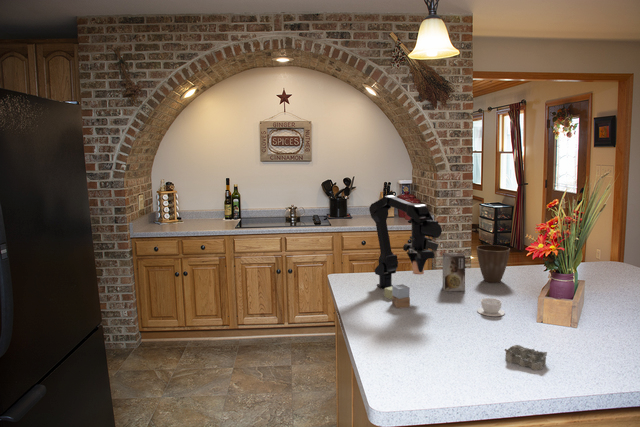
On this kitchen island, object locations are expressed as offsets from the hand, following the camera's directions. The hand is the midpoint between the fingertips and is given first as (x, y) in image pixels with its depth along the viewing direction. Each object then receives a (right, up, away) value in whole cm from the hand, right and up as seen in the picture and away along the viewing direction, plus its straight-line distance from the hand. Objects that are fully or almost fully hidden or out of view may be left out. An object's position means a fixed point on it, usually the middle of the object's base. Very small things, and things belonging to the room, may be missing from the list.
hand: (418, 270), depth 195 cm
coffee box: (+19, -10, +13) cm, 25 cm away
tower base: (-9, -13, -7) cm, 17 cm away
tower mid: (-9, -9, -7) cm, 15 cm away
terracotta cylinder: (0, -1, 0) cm, 1 cm away
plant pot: (+41, -8, +25) cm, 48 cm away
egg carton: (+19, -20, -59) cm, 65 cm away
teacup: (+24, -14, -17) cm, 33 cm away
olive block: (-11, -12, +4) cm, 17 cm away
